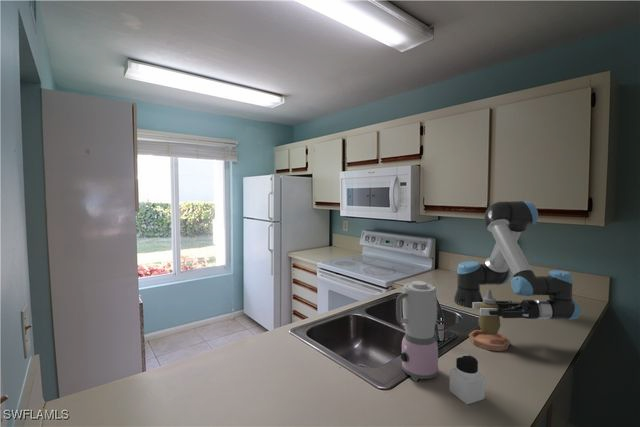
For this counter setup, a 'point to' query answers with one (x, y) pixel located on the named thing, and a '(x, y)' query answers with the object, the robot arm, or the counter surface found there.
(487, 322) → the squeeze bottle
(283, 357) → the counter surface
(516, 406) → the counter surface
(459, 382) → the medicine bottle
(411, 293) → the blender
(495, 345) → the dish
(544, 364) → the counter surface
